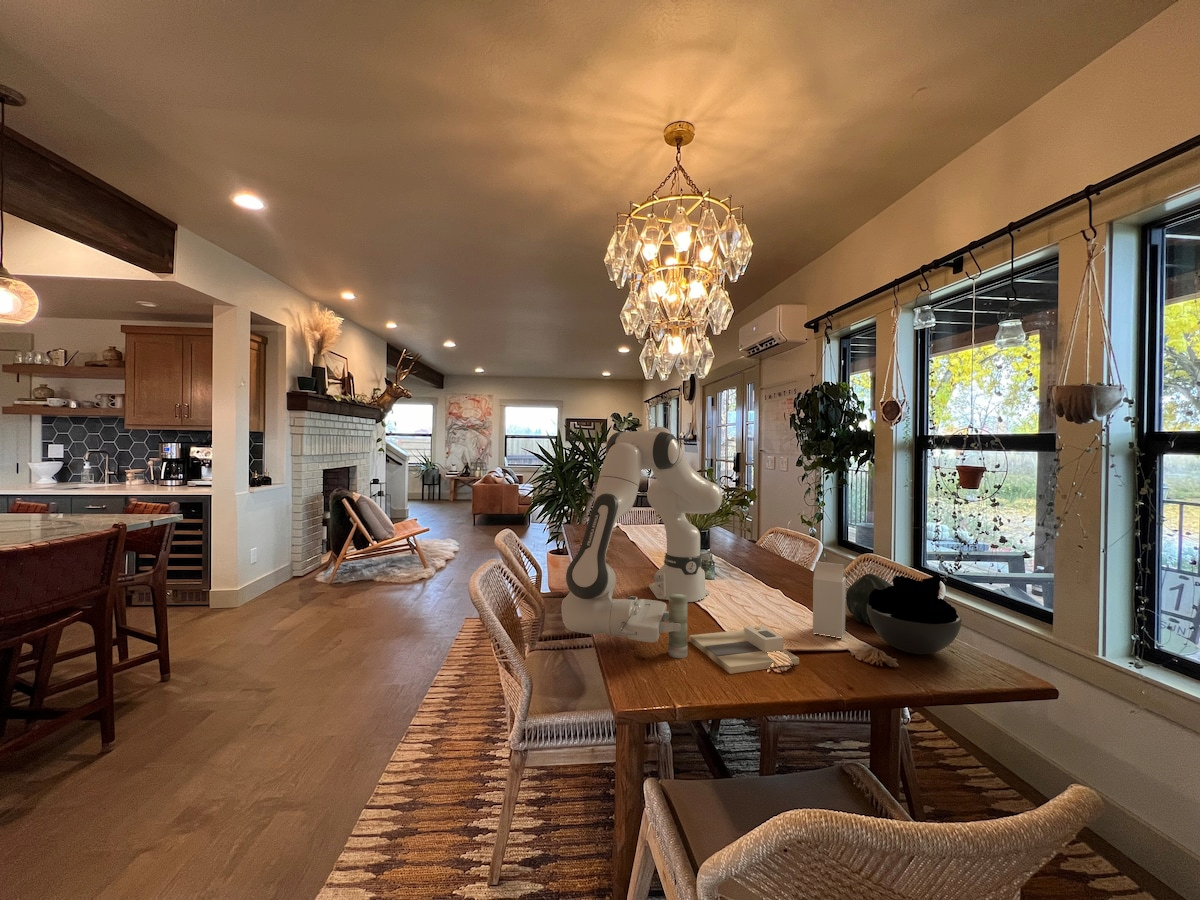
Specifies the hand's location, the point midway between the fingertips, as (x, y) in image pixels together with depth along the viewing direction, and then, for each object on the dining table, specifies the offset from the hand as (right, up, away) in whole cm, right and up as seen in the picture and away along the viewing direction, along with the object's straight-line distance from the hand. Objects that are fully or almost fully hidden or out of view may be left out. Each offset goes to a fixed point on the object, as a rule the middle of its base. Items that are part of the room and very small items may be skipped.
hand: (681, 622), depth 126 cm
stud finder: (+20, -6, +2) cm, 21 cm away
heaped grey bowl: (+57, -8, +3) cm, 58 cm away
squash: (+59, -8, +25) cm, 65 cm away
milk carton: (+42, -8, +15) cm, 46 cm away
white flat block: (+15, -8, +2) cm, 17 cm away
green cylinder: (-1, -8, 0) cm, 8 cm away
